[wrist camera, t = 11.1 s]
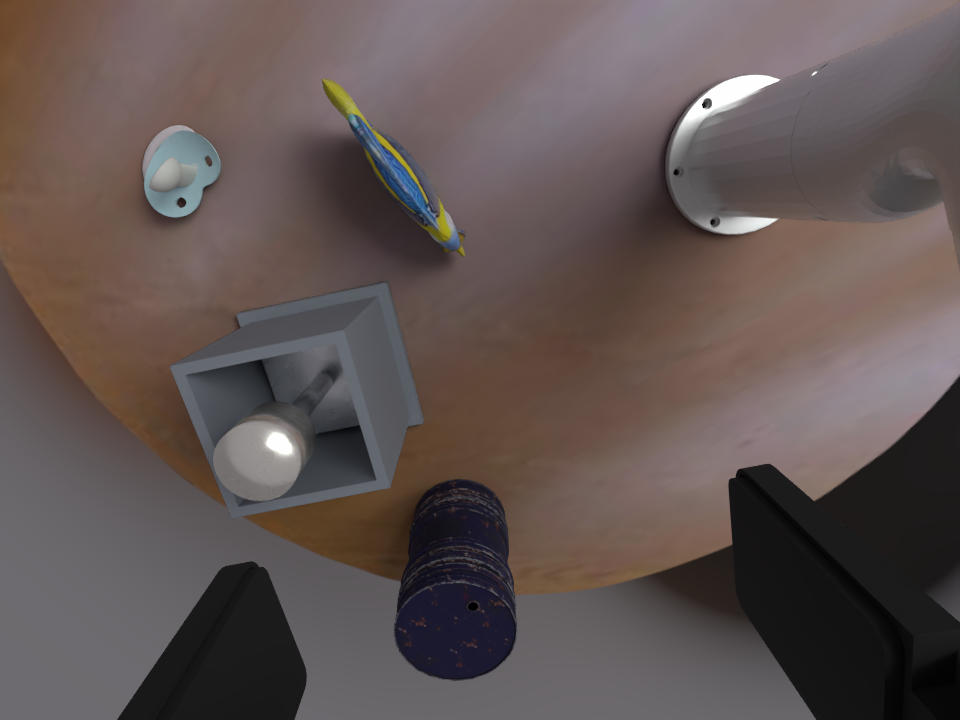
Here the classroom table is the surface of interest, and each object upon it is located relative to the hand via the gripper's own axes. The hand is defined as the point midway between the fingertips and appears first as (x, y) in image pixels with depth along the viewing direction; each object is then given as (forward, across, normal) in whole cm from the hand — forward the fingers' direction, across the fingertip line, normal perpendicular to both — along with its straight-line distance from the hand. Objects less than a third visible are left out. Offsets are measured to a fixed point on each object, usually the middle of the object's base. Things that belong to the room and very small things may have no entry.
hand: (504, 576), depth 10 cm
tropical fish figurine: (+39, +4, -10) cm, 40 cm away
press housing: (+38, +15, +5) cm, 41 cm away
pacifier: (+39, +22, -15) cm, 47 cm away
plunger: (+35, +15, +5) cm, 39 cm away
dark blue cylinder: (+38, +7, +24) cm, 46 cm away
